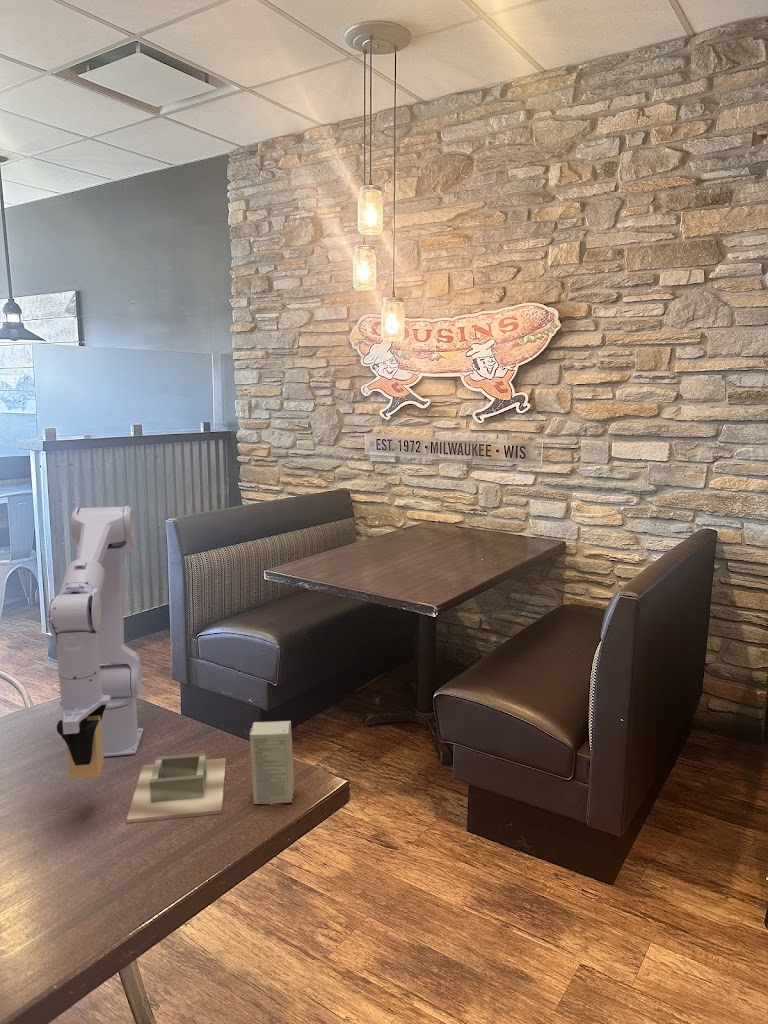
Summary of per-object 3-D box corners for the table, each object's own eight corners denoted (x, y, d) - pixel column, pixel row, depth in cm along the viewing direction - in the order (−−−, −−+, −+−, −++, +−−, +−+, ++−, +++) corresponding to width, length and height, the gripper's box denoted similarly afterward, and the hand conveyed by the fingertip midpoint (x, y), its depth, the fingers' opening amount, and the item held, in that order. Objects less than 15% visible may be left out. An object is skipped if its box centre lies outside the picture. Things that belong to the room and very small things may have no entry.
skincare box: (294, 789, 118) (292, 720, 116) (292, 805, 114) (290, 733, 112) (255, 790, 118) (253, 720, 116) (251, 806, 113) (249, 734, 111)
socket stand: (143, 768, 125) (141, 746, 124) (226, 761, 127) (225, 740, 126) (126, 823, 109) (125, 798, 108) (221, 813, 111) (220, 789, 111)
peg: (76, 765, 112) (72, 717, 111) (103, 763, 113) (100, 715, 112) (70, 779, 109) (66, 729, 107) (98, 776, 109) (94, 727, 108)
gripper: (97, 689, 102) (104, 778, 104) (116, 652, 116) (122, 731, 118) (44, 693, 100) (52, 783, 103) (70, 655, 115) (76, 735, 117)
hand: (86, 756), depth 110 cm, fingers closed on peg, 4 cm apart
